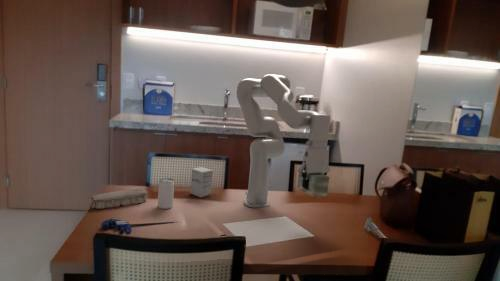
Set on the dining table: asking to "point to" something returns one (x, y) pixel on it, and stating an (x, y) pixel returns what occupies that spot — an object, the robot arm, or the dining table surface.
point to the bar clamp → (123, 225)
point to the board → (267, 230)
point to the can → (165, 193)
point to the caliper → (373, 228)
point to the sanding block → (315, 185)
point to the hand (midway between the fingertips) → (311, 187)
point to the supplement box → (201, 181)
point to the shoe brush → (118, 198)
